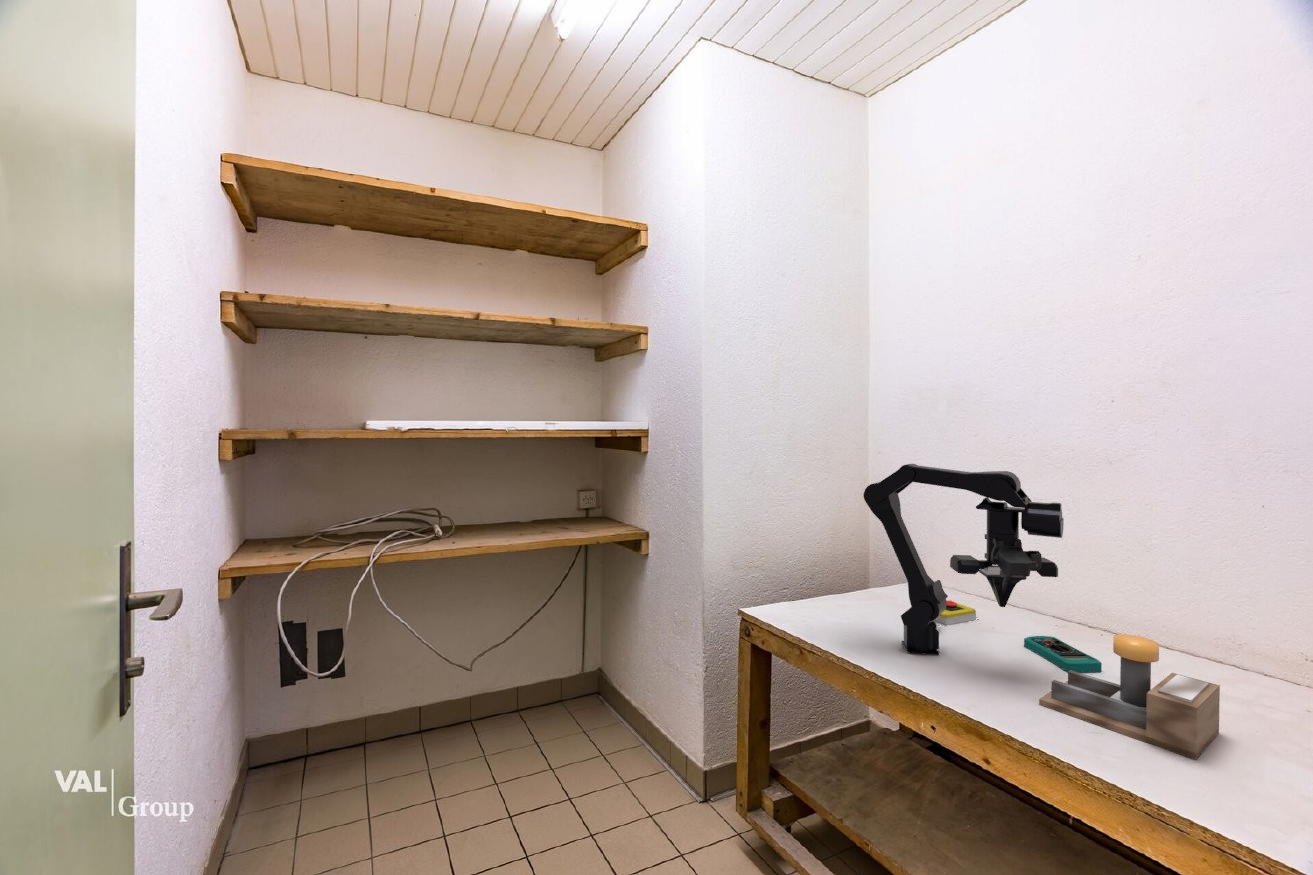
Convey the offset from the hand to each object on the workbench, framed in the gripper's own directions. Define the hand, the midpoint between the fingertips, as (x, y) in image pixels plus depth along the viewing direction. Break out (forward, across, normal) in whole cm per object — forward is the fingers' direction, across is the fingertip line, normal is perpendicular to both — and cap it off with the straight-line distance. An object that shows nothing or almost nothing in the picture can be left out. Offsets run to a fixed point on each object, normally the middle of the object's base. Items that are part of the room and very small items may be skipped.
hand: (1002, 606), depth 120 cm
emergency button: (+14, -2, +32) cm, 35 cm away
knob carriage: (+12, +14, -20) cm, 27 cm away
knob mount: (+13, +13, -19) cm, 26 cm away
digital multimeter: (+14, +15, +8) cm, 21 cm away
